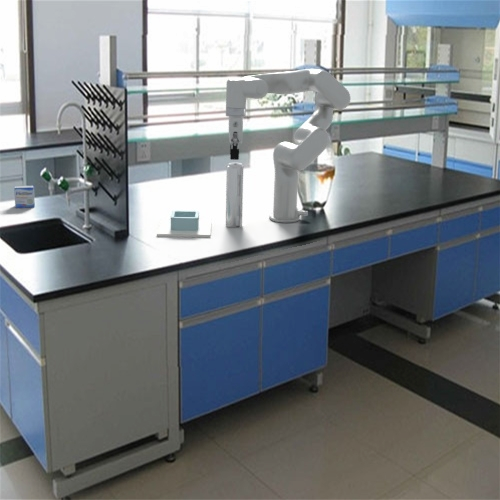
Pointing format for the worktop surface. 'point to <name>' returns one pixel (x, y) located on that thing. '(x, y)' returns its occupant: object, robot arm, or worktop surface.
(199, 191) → the worktop surface
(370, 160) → the worktop surface
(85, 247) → the worktop surface
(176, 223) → the holder
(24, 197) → the medicine box
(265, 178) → the worktop surface
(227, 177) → the white cylinder
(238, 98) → the robot arm
